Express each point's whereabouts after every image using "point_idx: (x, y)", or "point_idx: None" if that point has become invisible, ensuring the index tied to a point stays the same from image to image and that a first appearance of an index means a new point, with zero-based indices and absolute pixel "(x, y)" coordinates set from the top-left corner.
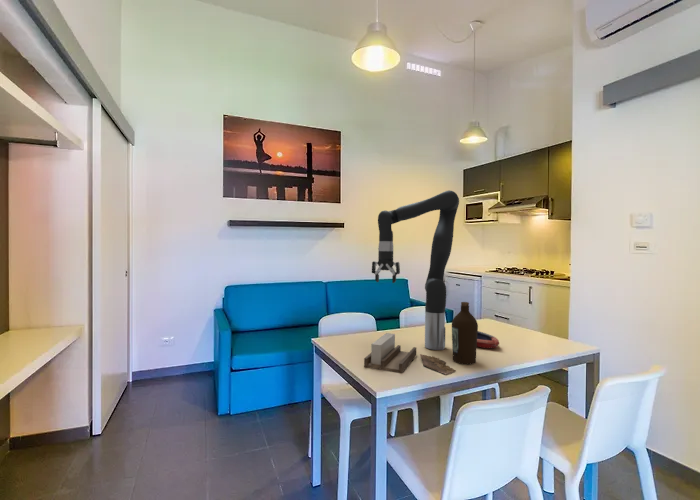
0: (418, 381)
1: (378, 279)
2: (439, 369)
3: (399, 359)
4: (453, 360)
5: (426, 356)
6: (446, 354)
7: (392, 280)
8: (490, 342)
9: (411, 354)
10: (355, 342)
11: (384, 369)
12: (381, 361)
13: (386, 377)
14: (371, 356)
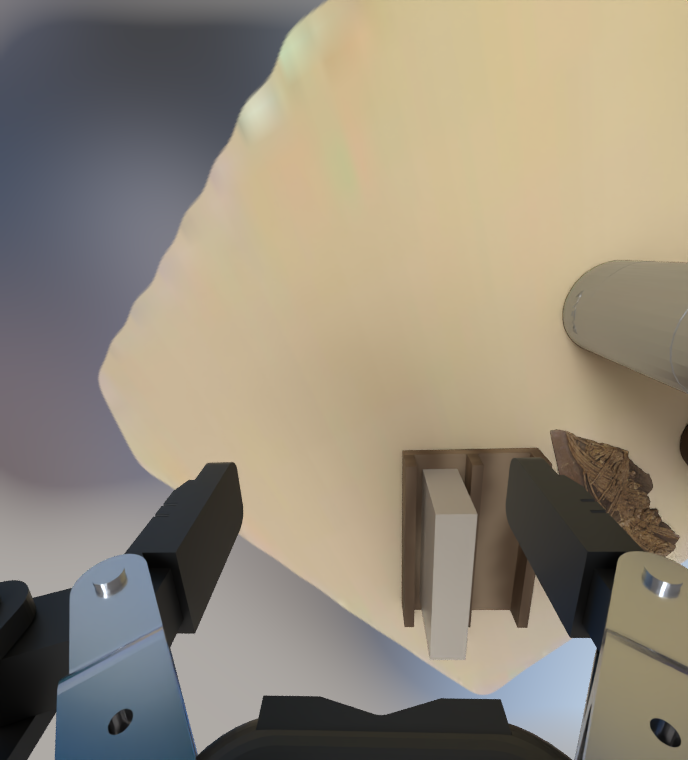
0: (567, 633)
1: (223, 502)
2: None
3: (493, 536)
4: (683, 456)
5: (578, 449)
6: (659, 385)
7: (521, 545)
8: None
9: None
10: (254, 394)
11: None
12: None
13: (482, 639)
14: (423, 618)
